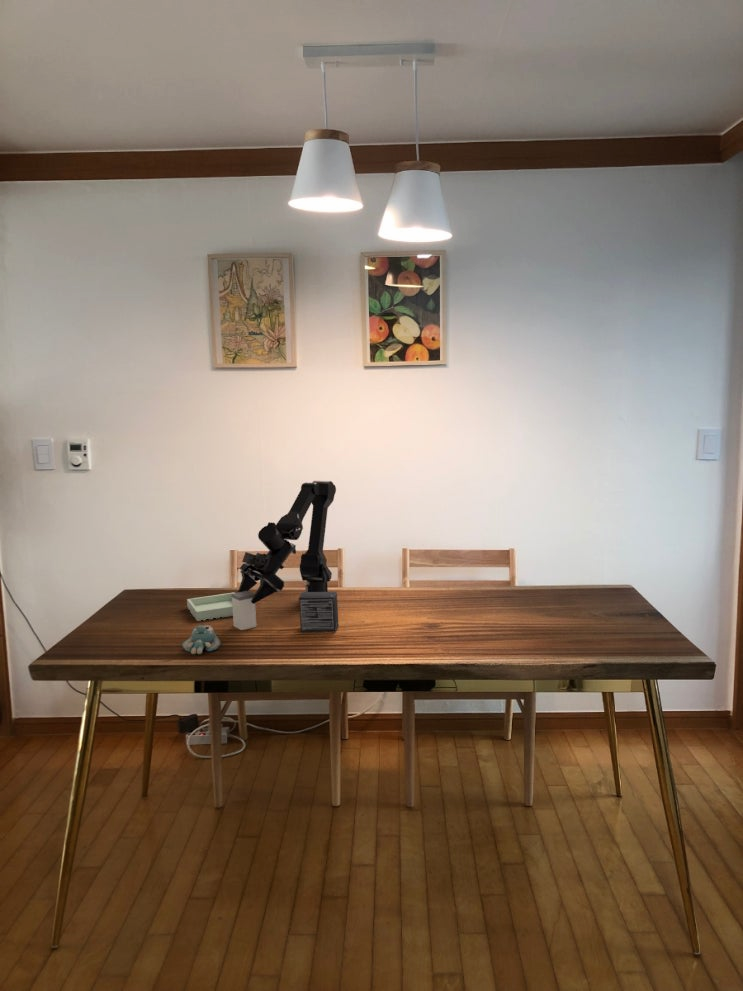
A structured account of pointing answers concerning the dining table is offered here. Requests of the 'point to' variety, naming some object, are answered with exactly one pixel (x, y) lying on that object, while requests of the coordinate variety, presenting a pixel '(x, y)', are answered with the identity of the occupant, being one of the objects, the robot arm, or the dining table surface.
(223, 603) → the tray
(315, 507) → the robot arm
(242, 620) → the grey upright pillar
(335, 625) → the small box
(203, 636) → the stuffed animal
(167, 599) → the dining table surface
